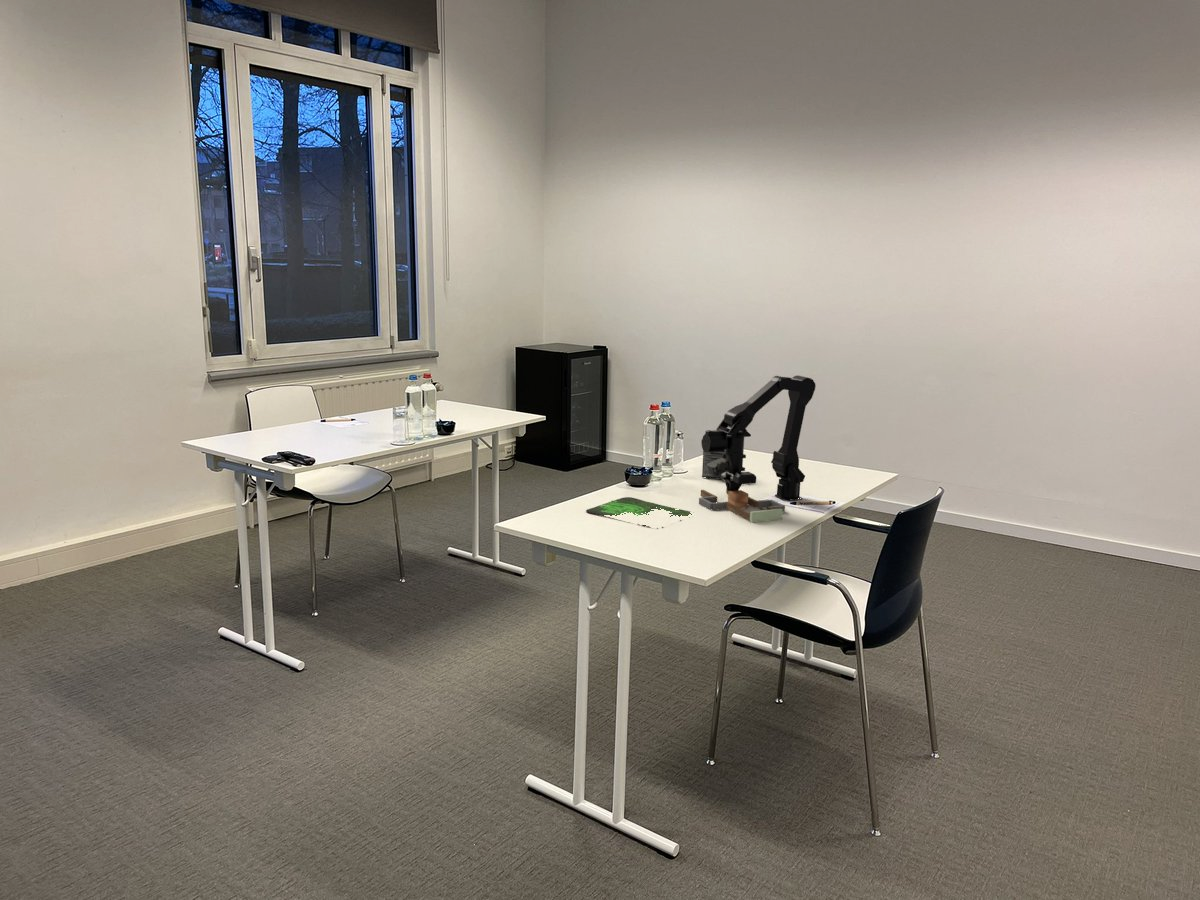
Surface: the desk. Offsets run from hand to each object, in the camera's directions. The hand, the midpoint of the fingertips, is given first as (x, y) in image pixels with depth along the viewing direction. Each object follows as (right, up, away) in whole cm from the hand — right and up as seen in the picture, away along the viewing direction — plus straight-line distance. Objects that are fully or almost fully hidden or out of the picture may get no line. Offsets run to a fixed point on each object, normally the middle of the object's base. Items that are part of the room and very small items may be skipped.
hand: (731, 499), depth 279 cm
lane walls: (+2, -2, -4) cm, 5 cm away
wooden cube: (+1, -2, -4) cm, 4 cm away
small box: (0, +6, +34) cm, 34 cm away
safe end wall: (+8, -5, -18) cm, 20 cm away
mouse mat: (-29, -4, -13) cm, 32 cm away
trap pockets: (+2, -2, -5) cm, 6 cm away
